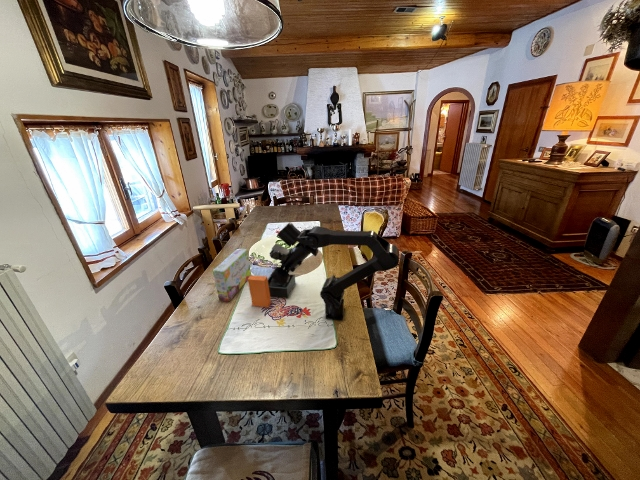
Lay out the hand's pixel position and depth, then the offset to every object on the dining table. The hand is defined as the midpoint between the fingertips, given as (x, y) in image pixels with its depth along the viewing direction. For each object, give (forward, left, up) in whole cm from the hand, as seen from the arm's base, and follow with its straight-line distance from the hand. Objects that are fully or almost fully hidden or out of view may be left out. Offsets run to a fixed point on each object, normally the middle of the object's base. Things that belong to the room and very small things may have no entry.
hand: (274, 278), depth 97 cm
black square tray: (+3, -12, -14) cm, 18 cm away
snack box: (+24, -11, -14) cm, 30 cm away
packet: (+7, -1, -14) cm, 16 cm away
